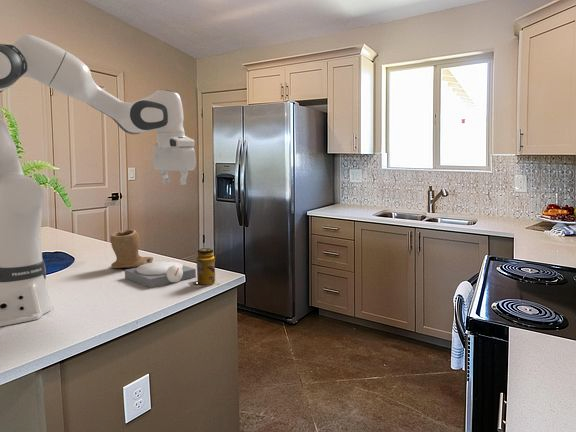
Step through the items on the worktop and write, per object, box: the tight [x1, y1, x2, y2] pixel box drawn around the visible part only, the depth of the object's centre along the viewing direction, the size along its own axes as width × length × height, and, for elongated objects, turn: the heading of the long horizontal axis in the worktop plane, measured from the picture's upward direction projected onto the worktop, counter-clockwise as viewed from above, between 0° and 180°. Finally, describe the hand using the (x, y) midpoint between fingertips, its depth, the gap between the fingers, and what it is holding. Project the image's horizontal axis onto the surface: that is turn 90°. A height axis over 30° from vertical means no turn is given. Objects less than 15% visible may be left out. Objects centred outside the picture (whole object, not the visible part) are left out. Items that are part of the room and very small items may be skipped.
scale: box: [124, 260, 197, 289], centre depth 158 cm, size 18×19×6 cm
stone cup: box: [109, 229, 154, 269], centre depth 173 cm, size 15×12×15 cm
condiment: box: [188, 247, 220, 288], centre depth 150 cm, size 7×8×12 cm
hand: (174, 184), depth 145 cm, fingers open, 8 cm apart
